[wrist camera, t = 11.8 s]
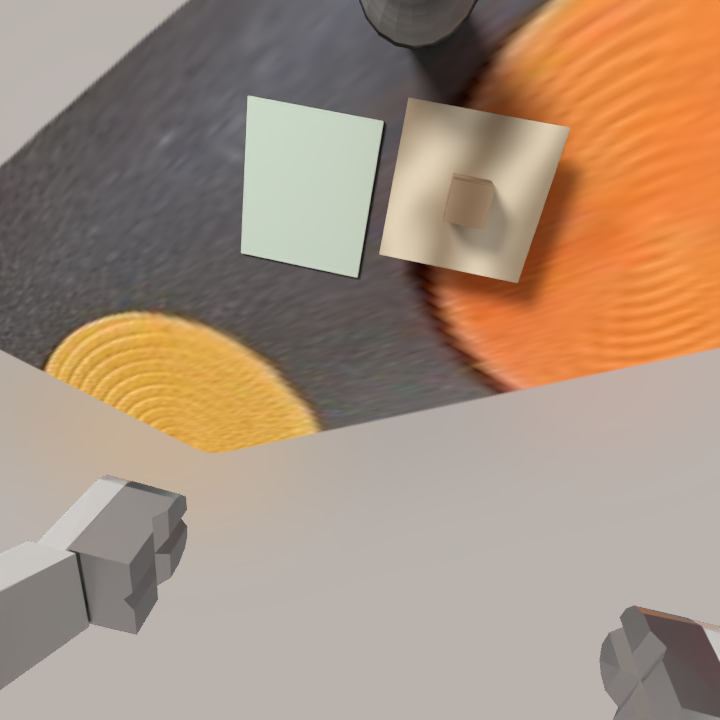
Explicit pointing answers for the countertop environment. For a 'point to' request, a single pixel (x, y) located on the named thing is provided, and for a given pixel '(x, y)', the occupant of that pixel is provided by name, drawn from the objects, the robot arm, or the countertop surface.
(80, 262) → the countertop surface
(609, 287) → the countertop surface
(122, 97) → the countertop surface
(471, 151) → the cover
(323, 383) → the countertop surface
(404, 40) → the beverage cup
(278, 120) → the mat
